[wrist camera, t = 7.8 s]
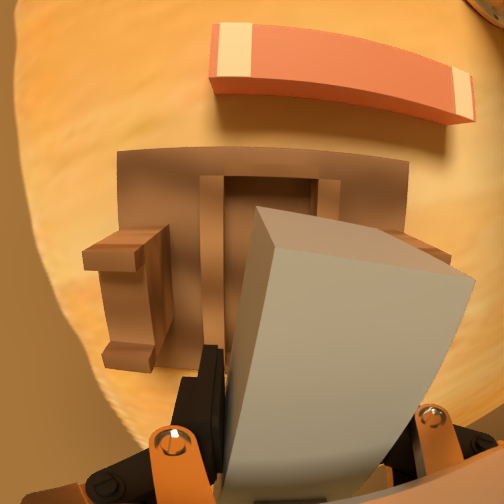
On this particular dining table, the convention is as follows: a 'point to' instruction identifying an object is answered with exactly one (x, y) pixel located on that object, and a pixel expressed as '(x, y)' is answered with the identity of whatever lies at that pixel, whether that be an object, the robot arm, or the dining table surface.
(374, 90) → the orange banded bar
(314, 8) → the dining table surface
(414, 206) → the dining table surface
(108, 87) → the dining table surface
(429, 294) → the grey rectangular block
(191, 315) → the jig
